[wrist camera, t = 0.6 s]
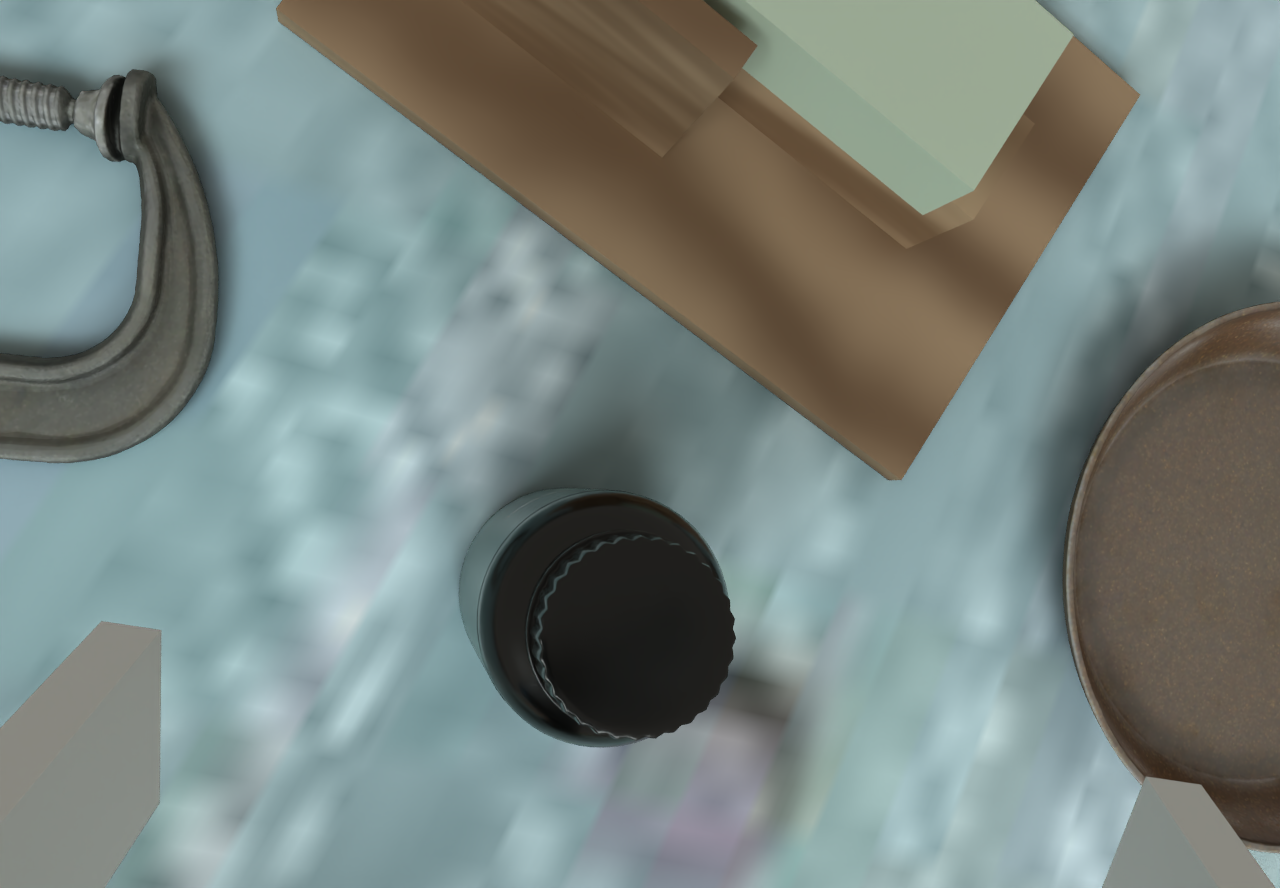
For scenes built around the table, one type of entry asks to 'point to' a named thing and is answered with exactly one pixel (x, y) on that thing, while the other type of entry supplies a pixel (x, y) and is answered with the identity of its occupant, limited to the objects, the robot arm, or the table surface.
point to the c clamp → (164, 294)
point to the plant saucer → (1188, 571)
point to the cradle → (734, 190)
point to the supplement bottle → (597, 615)
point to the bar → (905, 79)
